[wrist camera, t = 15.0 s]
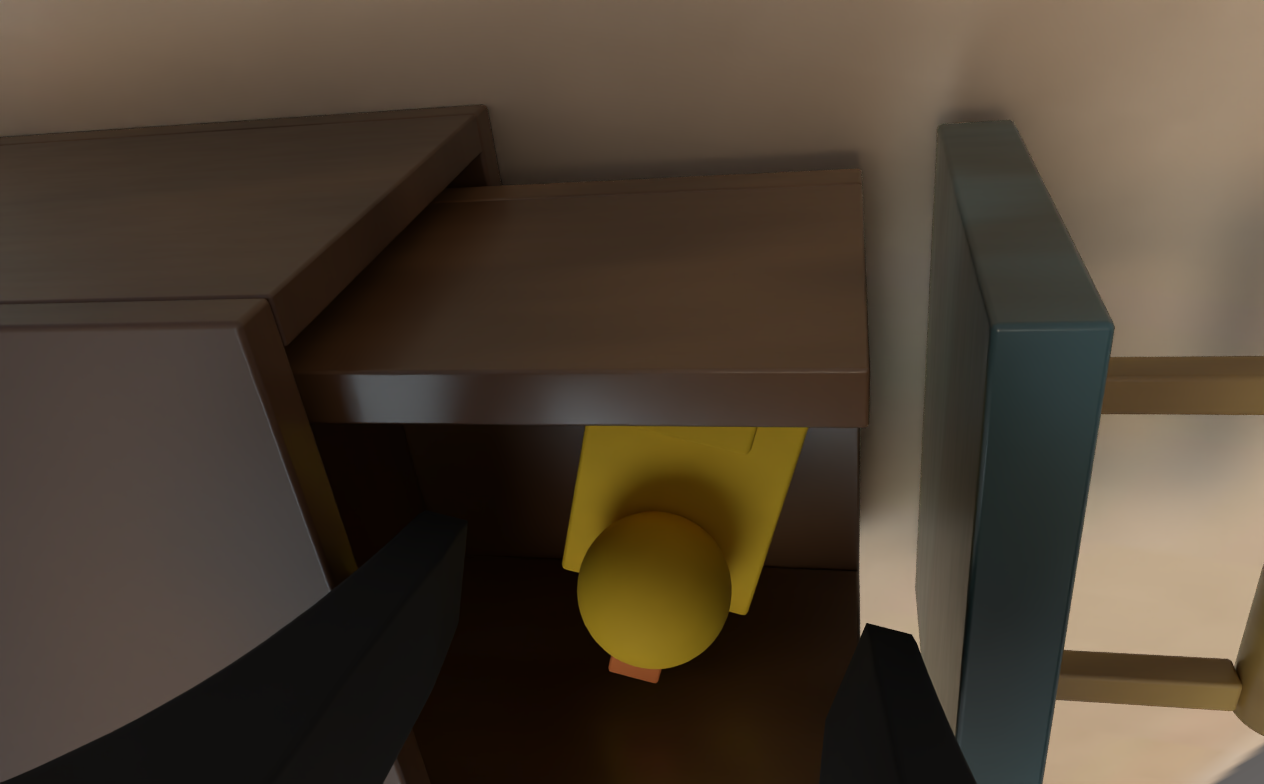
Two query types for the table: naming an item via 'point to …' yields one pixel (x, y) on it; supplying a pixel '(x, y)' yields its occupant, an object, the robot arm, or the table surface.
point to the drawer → (746, 397)
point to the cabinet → (179, 396)
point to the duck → (673, 534)
